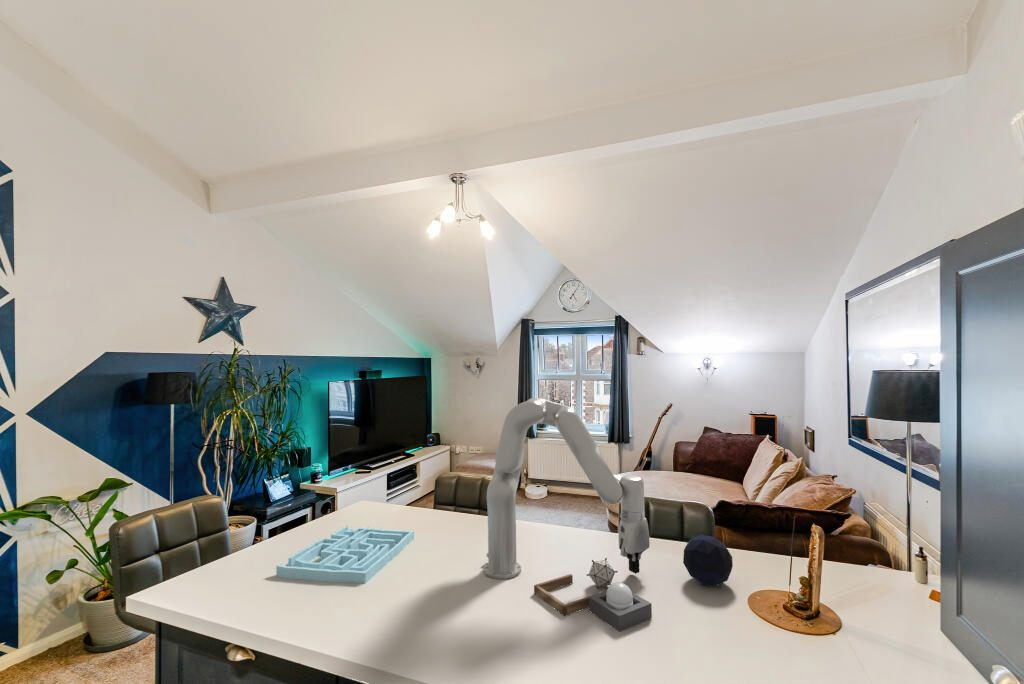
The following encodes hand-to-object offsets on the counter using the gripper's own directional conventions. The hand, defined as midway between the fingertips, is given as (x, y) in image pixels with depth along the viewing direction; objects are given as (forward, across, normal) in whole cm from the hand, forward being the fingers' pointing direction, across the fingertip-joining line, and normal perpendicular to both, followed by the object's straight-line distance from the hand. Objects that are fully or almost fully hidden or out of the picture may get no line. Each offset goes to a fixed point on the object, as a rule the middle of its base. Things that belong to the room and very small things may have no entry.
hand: (634, 571), depth 151 cm
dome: (0, -21, -15) cm, 26 cm away
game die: (+2, -14, 0) cm, 14 cm away
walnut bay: (+1, -27, 0) cm, 27 cm away
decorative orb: (+2, +16, -16) cm, 23 cm away
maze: (+2, -76, +67) cm, 101 cm away
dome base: (+1, -21, -15) cm, 26 cm away
